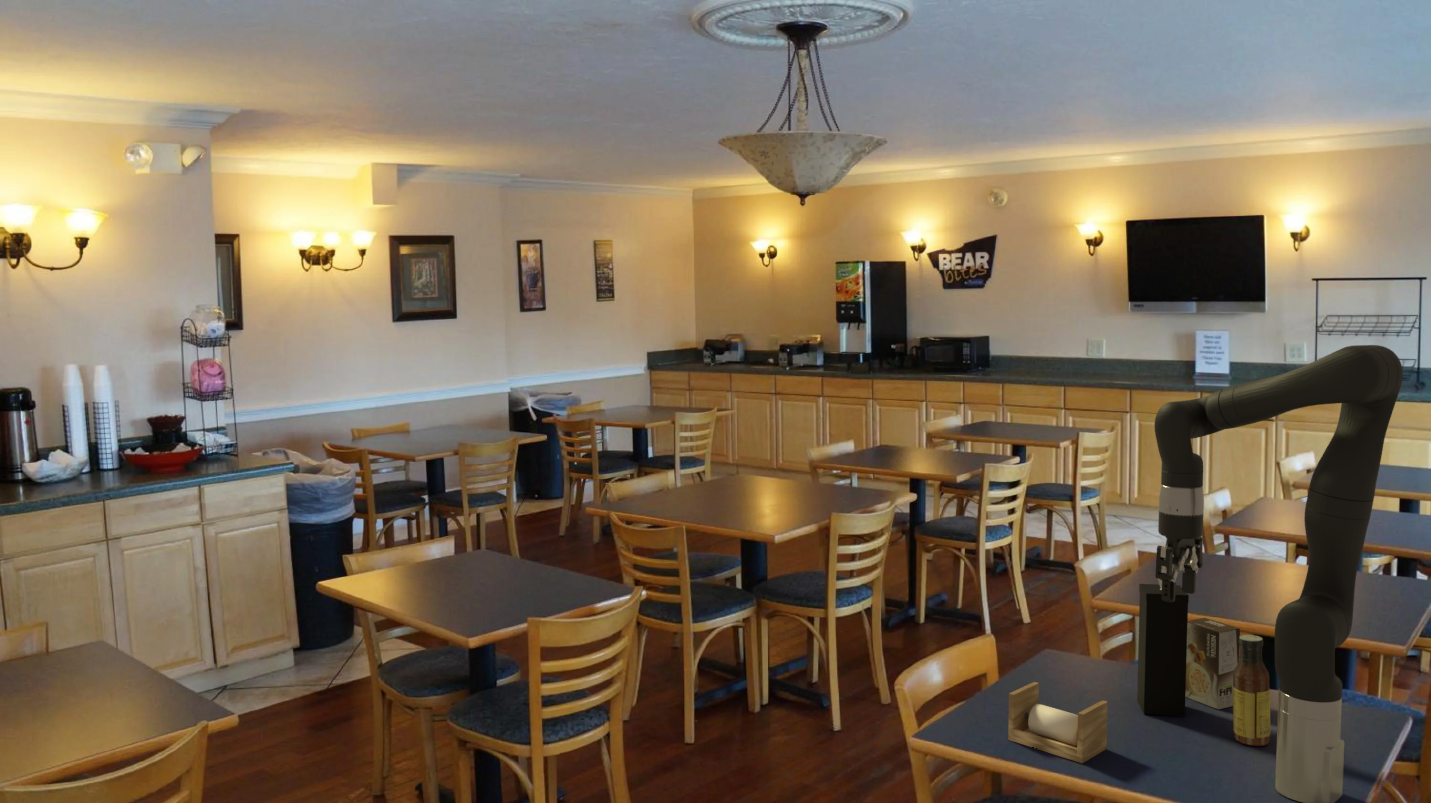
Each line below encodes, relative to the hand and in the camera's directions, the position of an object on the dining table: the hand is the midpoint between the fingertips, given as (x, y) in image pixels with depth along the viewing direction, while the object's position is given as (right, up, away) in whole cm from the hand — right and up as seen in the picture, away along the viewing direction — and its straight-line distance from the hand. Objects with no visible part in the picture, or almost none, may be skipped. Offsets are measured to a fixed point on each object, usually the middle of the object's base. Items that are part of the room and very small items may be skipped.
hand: (1178, 596), depth 200 cm
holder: (-21, -28, +3) cm, 35 cm away
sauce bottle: (+15, -28, +4) cm, 32 cm away
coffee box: (+17, -26, +25) cm, 40 cm away
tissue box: (+5, -27, +21) cm, 34 cm away
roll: (-21, -27, +3) cm, 35 cm away
